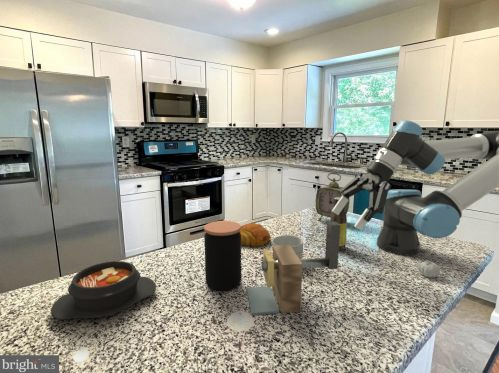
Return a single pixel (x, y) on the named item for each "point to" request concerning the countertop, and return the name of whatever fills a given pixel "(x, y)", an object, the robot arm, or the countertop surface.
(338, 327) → the countertop surface
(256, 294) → the slate mat
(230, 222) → the coffee jar
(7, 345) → the countertop surface
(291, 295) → the bearing block
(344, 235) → the sauce bottle
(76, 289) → the casserole
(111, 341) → the countertop surface
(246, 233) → the croissant
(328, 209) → the tabletop clock
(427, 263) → the garlic
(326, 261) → the shaft
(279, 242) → the teacup
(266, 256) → the plate
